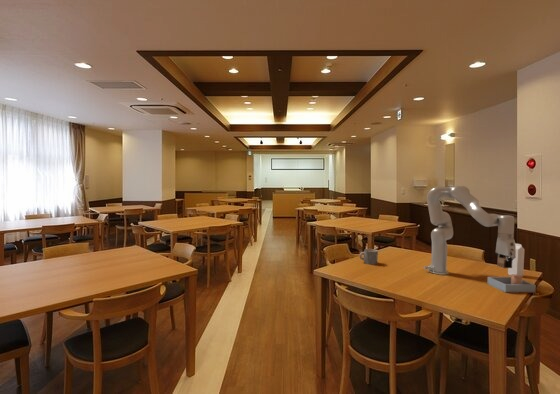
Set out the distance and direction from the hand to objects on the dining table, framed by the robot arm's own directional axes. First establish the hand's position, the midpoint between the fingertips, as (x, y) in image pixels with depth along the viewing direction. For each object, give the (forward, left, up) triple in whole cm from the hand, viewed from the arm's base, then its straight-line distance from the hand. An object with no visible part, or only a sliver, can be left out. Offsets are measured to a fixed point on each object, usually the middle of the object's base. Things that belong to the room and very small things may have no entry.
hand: (504, 266), depth 179 cm
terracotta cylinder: (+8, 0, -13) cm, 15 cm away
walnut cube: (0, 0, -1) cm, 1 cm away
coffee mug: (-64, +55, -14) cm, 86 cm away
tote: (+4, 0, -13) cm, 14 cm away
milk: (+28, +25, -14) cm, 40 cm away
